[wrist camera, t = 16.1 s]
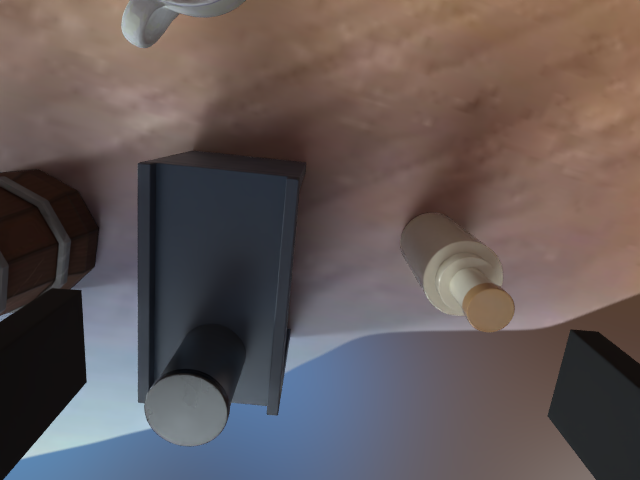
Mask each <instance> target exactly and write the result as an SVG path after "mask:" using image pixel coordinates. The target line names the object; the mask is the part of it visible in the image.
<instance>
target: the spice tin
mask: <svg viewBox="0 0 640 480" xmlns="http://www.w3.org/2000/svg"><path fill="white" fill-rule="evenodd" d="M244 362H245V348H244V345H243V343H242V341H241V340H240V338H239V337H238V336H237V335H236V334H235V333H234V332H233V331H232V330H230V329H228V328H226V327H224V326H221V325H215V324H207V325H202V326H199V327H197V328H195V329H193V330H192V331H190V332H189V333H188V334H187V336H186V337H185V338H184V340H183V342H182V343H181V345H180V346H179V348H178V349H177V351H176V352H175V354H174V356H173V357H172V359H171V360H170V362H169V363H168V365H167V366H166V368H165V370H164V371H163V373H162V374H161V376H160V377H159V378H158V379H157V380H156V381H155V382H154V384H153V385H152V387H151V388H150V390H149V391H148V393H147V396H146V399H145V405H144V408H145V415H146V418H147V421H148V423H149V425H150V426H151V428H152V429H153V430H154V431H155V432H156V433H157V434H158V435H159V436H160V437H162V438H163V439H165V440H167V441H169V442H171V443H174V444H177V445H181V446H198V445H202V444H205V443H208V442H210V441H211V440H213V439H214V438H216V437H217V436H218V435H219V434H220V433H221V432H222V430H223V429H224V427H225V425H226V423H227V420H228V416H229V412H230V405H231V402H232V399H233V396H234V393H235V390H236V387H237V384H238V381H239V378H240V375H241V372H242V369H243V366H244Z"/></svg>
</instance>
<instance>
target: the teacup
mask: <svg viewBox="0 0 640 480" xmlns="http://www.w3.org/2000/svg"><path fill="white" fill-rule="evenodd" d="M245 1H246V0H130V1H129V3H128V5H127V7H126V9H125V11H124V14H123V17H122V24H121V26H122V32H123V35H124V37H125V38H126V39H127V40H128V41H129V42H130V43H132V44H133V45H135V46H137V47H140V48H148V47H150V46H152V45H153V44H155V43H156V42H157V41H158V39H159V38H160V37H161V36H162V35H163V33H164V32H165V31H166V29H167V28H168V26H169V25H170V24H171V22H172V21H173V20H174V19H175V18H176V17H177V16H178V15H179V13H181V14H184V15H188V16H193V17H215V16H219V15H223V14H225V13H228V12H230V11H232V10H234V9H235V8H237V7H238V6H240V5H241V4H242V3H243V2H245Z"/></svg>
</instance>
